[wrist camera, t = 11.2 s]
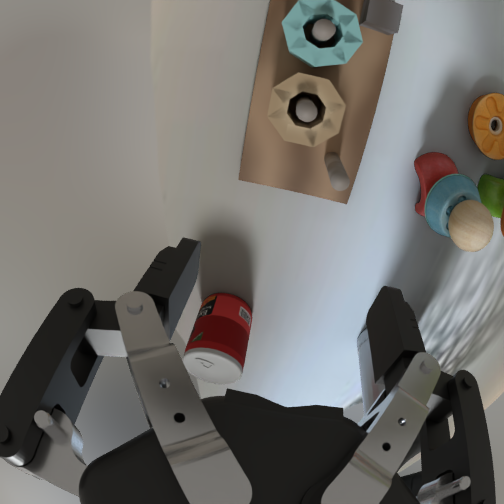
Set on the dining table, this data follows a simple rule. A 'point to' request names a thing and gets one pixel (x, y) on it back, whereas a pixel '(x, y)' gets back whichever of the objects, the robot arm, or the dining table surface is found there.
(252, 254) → the dining table surface
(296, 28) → the teal gear
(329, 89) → the beech gear
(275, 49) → the gear board
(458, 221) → the colourful stacking toy
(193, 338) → the canned food
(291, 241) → the dining table surface
